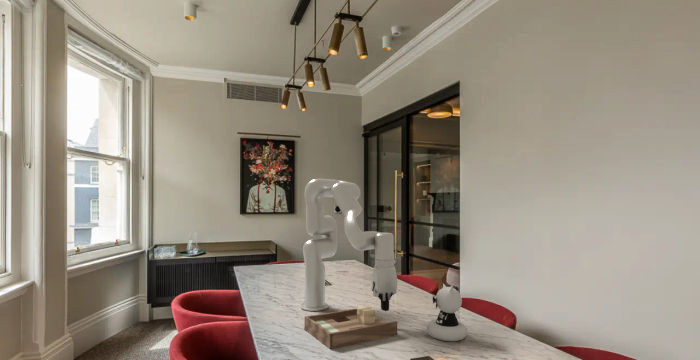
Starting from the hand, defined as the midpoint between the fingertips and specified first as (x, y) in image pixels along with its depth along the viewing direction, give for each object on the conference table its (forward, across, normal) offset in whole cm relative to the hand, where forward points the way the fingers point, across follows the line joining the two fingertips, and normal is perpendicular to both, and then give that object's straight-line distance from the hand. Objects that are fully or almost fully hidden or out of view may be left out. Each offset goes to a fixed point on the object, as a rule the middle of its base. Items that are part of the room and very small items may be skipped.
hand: (385, 310), depth 154 cm
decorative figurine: (+7, -14, +19) cm, 25 cm away
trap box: (+6, +16, -1) cm, 17 cm away
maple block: (+3, +9, -1) cm, 9 cm away
